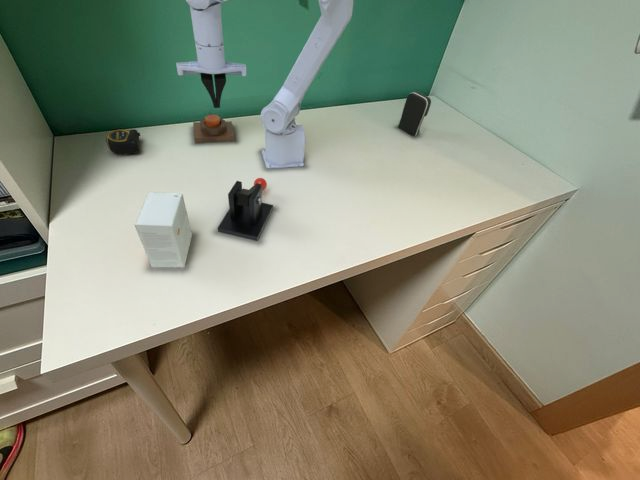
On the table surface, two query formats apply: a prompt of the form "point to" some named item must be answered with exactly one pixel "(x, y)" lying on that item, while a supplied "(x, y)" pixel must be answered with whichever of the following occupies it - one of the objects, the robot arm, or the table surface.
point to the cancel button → (212, 120)
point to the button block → (213, 132)
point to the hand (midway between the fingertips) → (216, 106)
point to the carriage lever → (250, 192)
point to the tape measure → (123, 141)
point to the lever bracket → (245, 215)
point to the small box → (164, 229)
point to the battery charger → (414, 112)
